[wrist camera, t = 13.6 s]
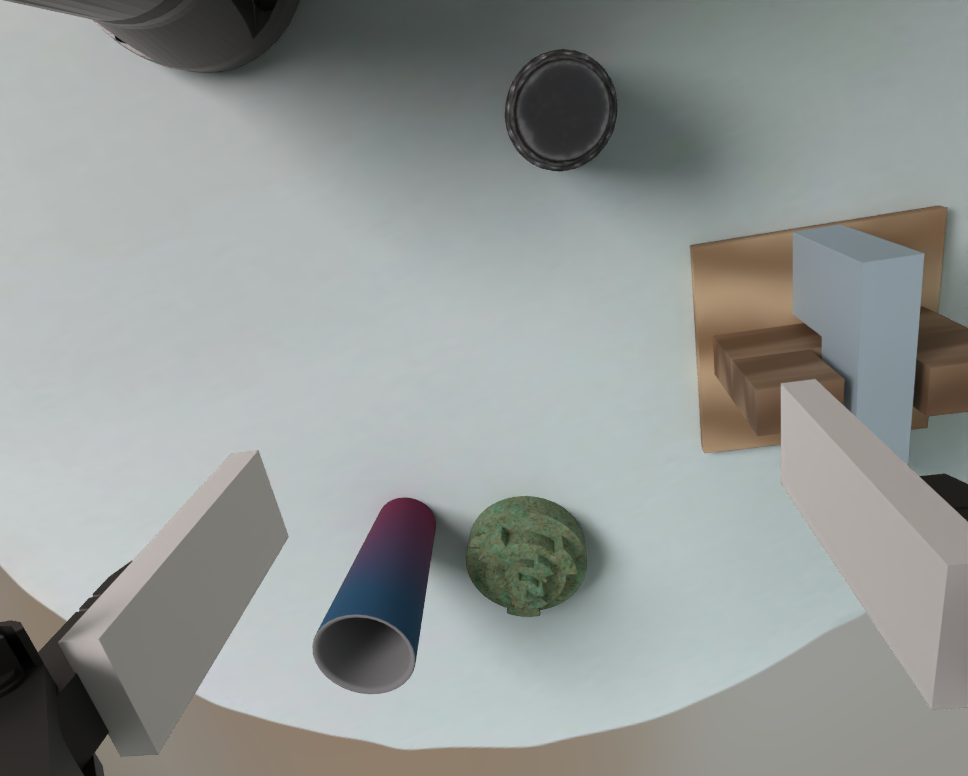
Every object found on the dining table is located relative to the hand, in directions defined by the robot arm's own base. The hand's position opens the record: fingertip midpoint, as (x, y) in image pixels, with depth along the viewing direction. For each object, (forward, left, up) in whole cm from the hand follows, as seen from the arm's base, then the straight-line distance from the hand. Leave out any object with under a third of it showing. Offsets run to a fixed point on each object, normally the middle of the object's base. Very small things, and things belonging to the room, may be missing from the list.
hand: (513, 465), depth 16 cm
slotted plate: (+10, +19, -31) cm, 37 cm away
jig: (+10, +19, -32) cm, 38 cm away
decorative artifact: (+26, -4, -32) cm, 41 cm away
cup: (+22, -14, -32) cm, 41 cm away
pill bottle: (-8, +3, -32) cm, 33 cm away
